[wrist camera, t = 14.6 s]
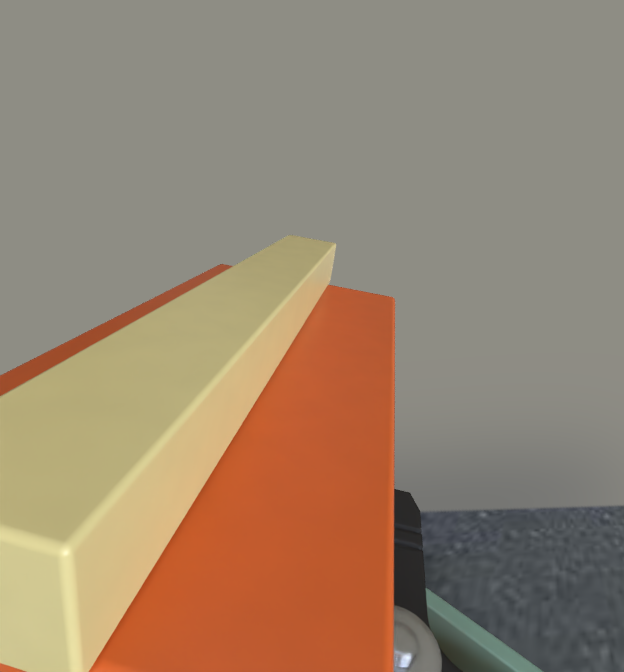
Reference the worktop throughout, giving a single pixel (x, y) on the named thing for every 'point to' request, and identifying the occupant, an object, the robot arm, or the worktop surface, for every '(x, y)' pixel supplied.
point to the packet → (206, 481)
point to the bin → (471, 641)
